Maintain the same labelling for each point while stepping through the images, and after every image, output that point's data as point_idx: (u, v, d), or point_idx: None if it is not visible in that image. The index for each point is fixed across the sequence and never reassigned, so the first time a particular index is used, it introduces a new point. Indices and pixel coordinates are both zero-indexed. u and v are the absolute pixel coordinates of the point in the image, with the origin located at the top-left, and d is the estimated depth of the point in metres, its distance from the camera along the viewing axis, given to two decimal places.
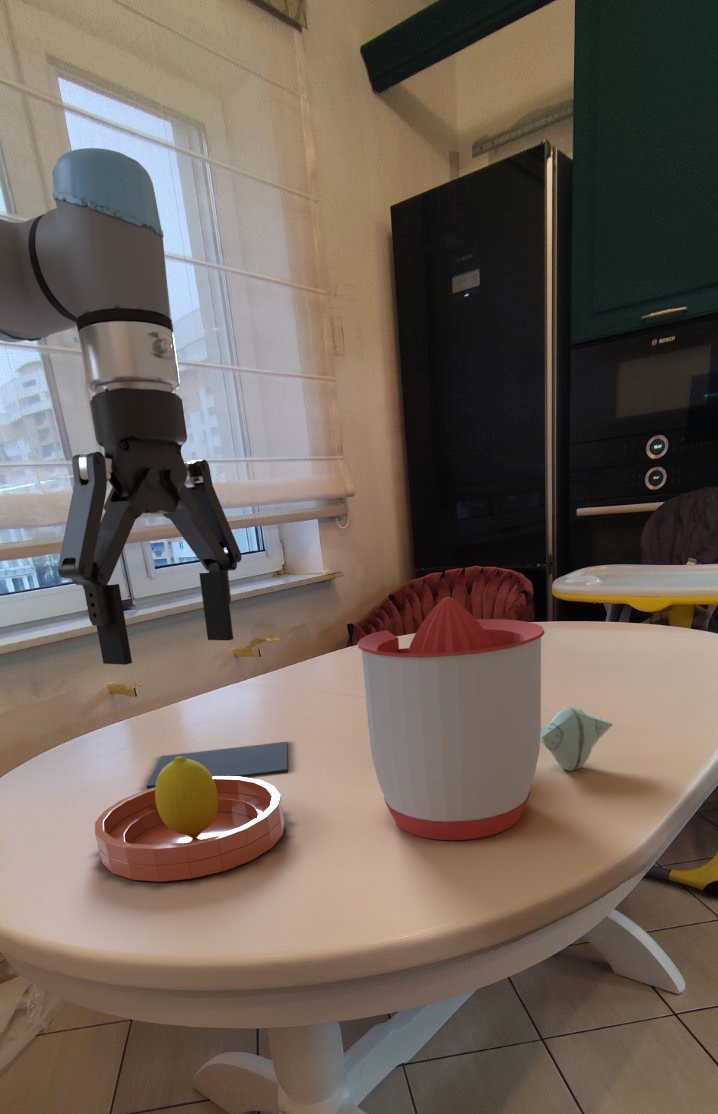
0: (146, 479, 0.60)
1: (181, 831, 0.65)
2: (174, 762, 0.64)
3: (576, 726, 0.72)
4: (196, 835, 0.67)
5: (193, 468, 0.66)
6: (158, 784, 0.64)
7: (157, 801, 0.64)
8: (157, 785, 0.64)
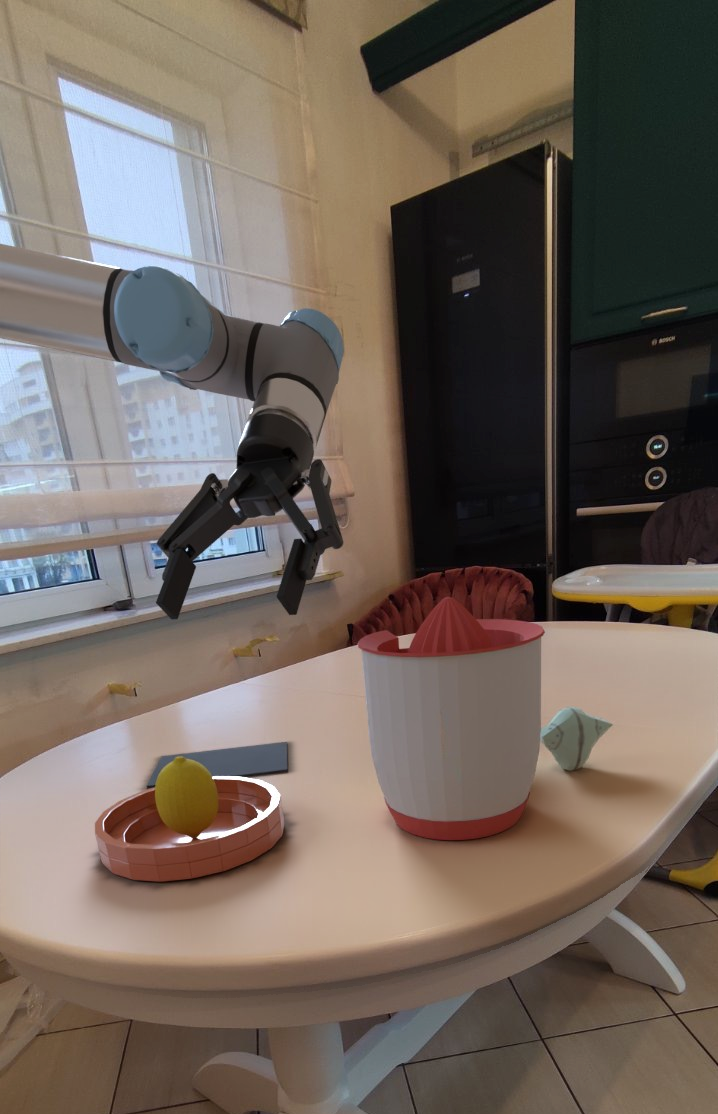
0: None
1: (181, 831, 0.65)
2: (174, 762, 0.64)
3: (576, 726, 0.72)
4: (196, 835, 0.67)
5: None
6: (158, 784, 0.64)
7: (157, 801, 0.64)
8: (157, 785, 0.64)
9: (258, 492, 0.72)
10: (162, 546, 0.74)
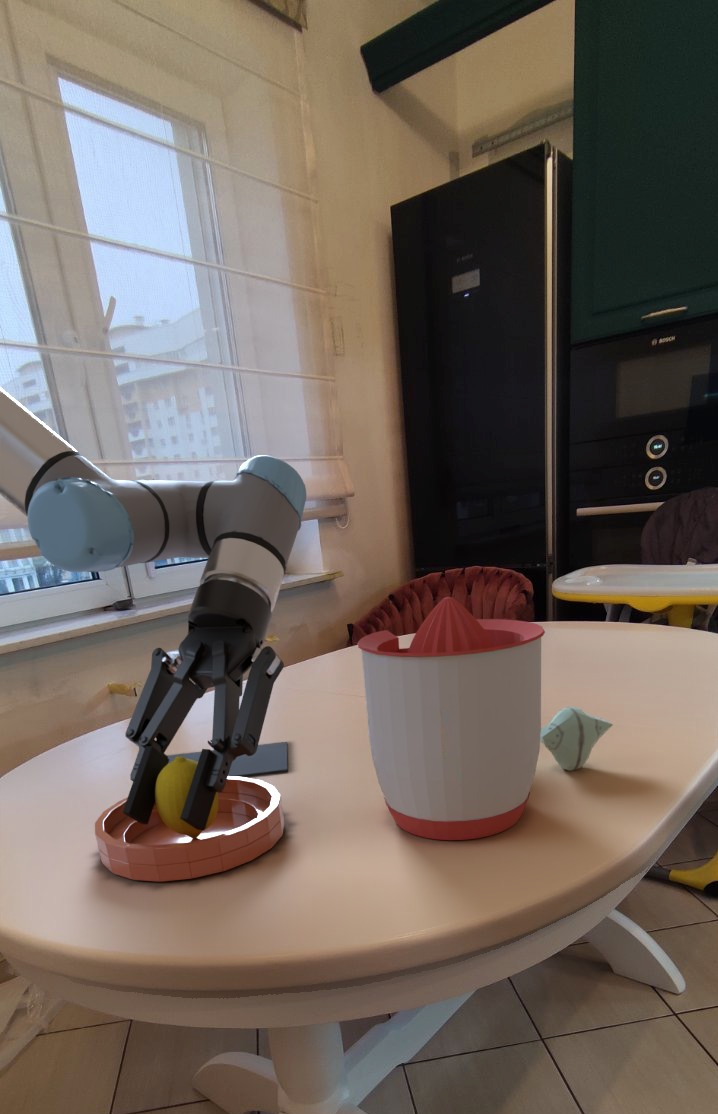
0: None
1: (181, 831, 0.65)
2: (174, 762, 0.64)
3: (576, 726, 0.72)
4: (196, 835, 0.67)
5: None
6: (158, 784, 0.64)
7: (157, 801, 0.64)
8: (157, 785, 0.64)
9: (209, 666, 0.67)
10: (133, 737, 0.67)
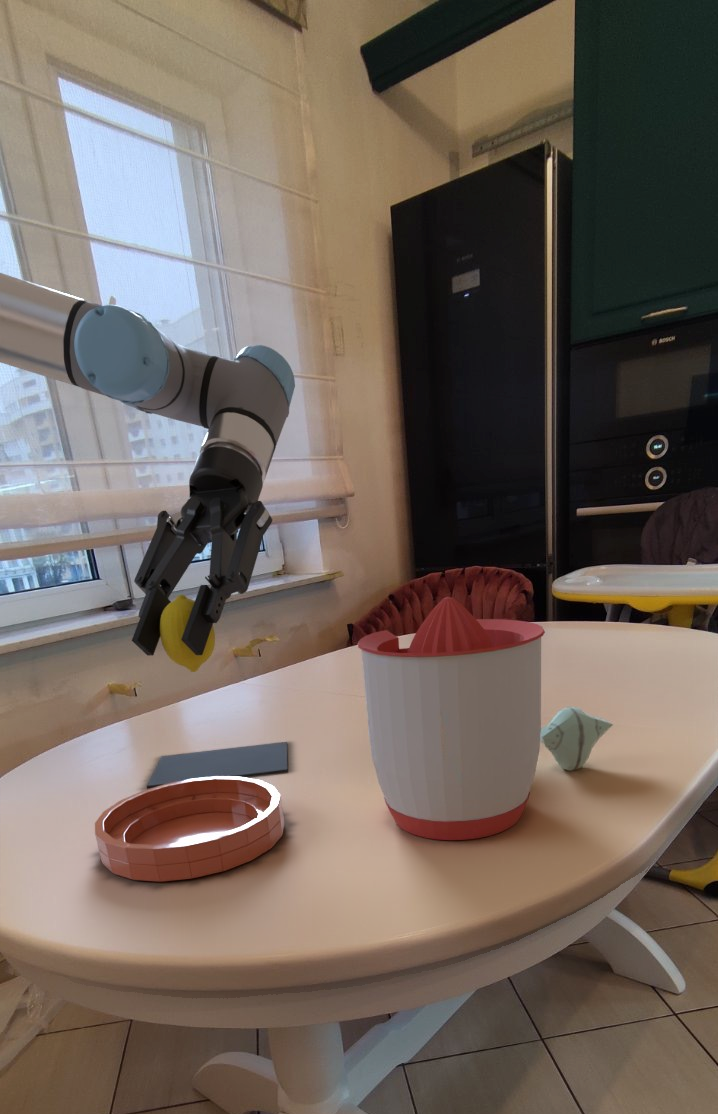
0: None
1: (182, 661, 0.75)
2: (176, 599, 0.74)
3: (576, 726, 0.72)
4: (195, 668, 0.76)
5: None
6: (162, 617, 0.74)
7: (161, 633, 0.74)
8: (161, 619, 0.74)
9: (207, 521, 0.77)
10: (141, 583, 0.77)
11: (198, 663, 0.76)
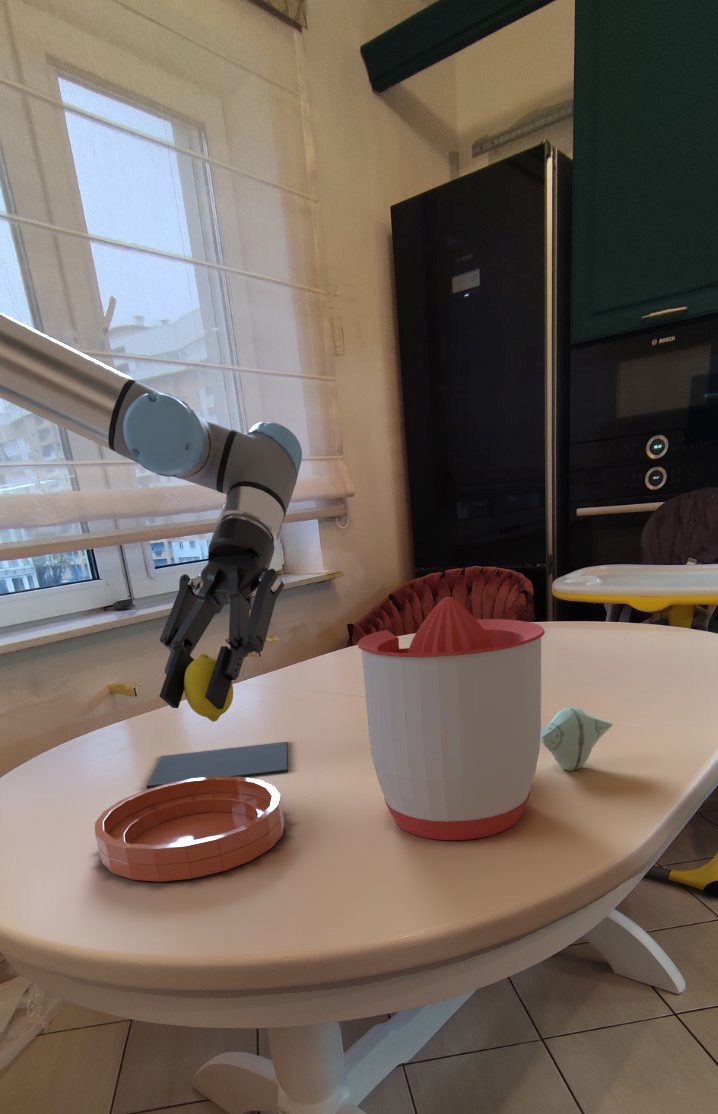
0: (251, 593, 0.87)
1: (204, 713, 0.83)
2: (199, 658, 0.82)
3: (576, 726, 0.72)
4: (215, 718, 0.85)
5: None
6: (187, 675, 0.82)
7: (186, 688, 0.82)
8: (186, 676, 0.82)
9: (225, 586, 0.85)
10: (166, 642, 0.85)
11: (218, 714, 0.84)
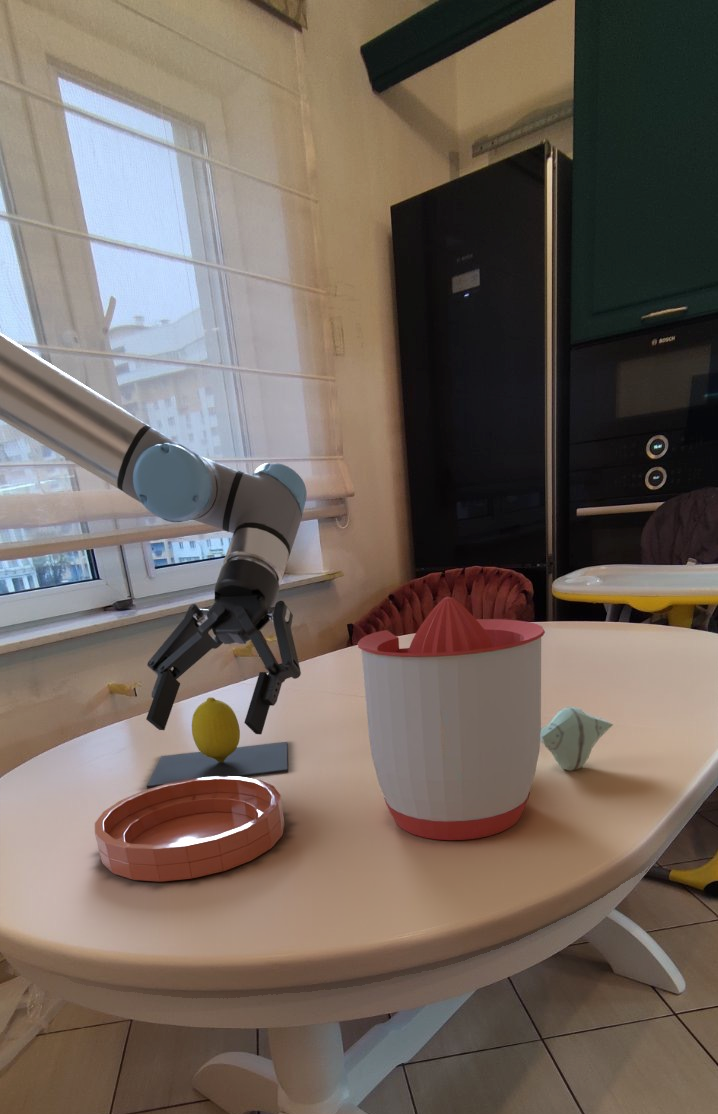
0: None
1: (211, 755, 0.85)
2: (206, 701, 0.84)
3: (576, 726, 0.72)
4: (222, 759, 0.87)
5: None
6: (195, 718, 0.84)
7: (193, 731, 0.84)
8: (194, 719, 0.84)
9: (231, 626, 0.87)
10: (152, 667, 0.89)
11: (225, 756, 0.86)
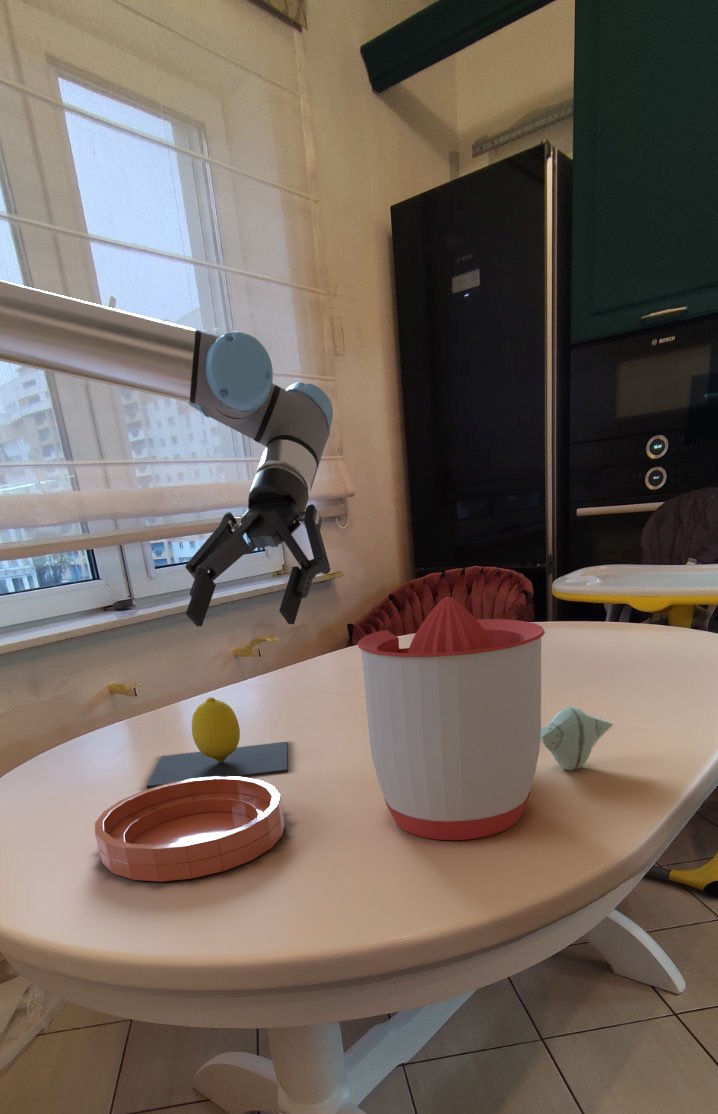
0: None
1: (211, 755, 0.85)
2: (206, 701, 0.84)
3: (576, 726, 0.72)
4: (222, 759, 0.87)
5: None
6: (195, 718, 0.84)
7: (193, 731, 0.84)
8: (194, 719, 0.84)
9: (265, 529, 0.93)
10: (189, 569, 0.95)
11: (225, 756, 0.86)
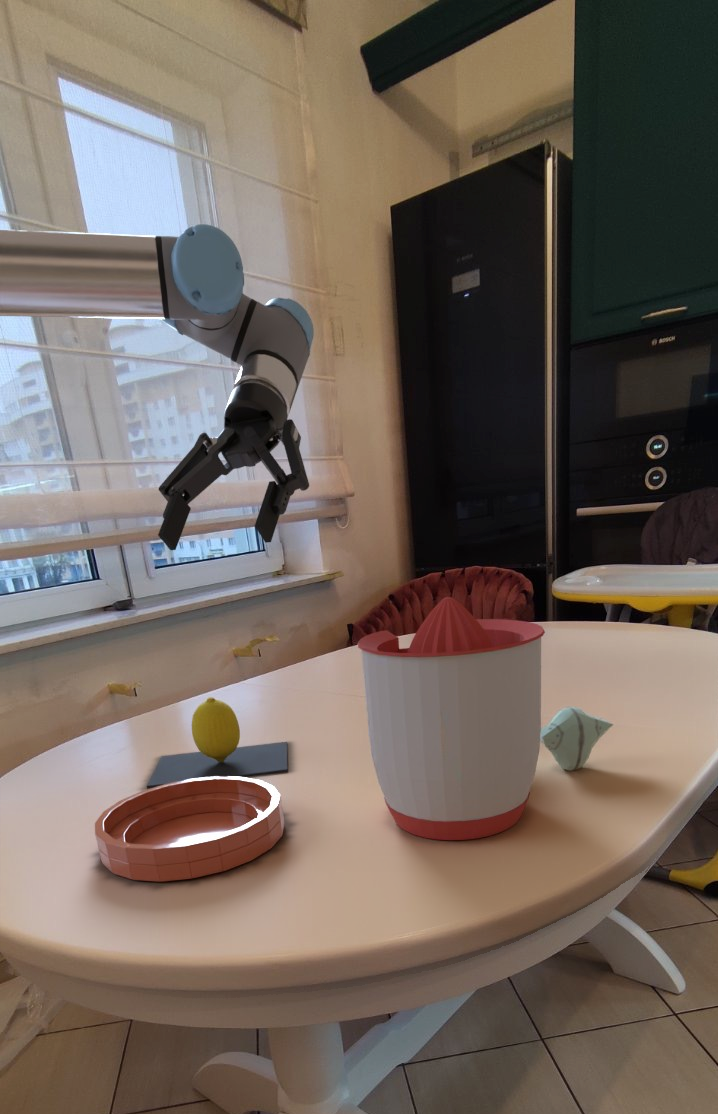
0: None
1: (211, 755, 0.85)
2: (206, 701, 0.84)
3: (576, 726, 0.72)
4: (222, 759, 0.87)
5: None
6: (195, 718, 0.84)
7: (193, 731, 0.84)
8: (194, 719, 0.84)
9: (241, 446, 0.89)
10: (163, 491, 0.91)
11: (225, 756, 0.86)
